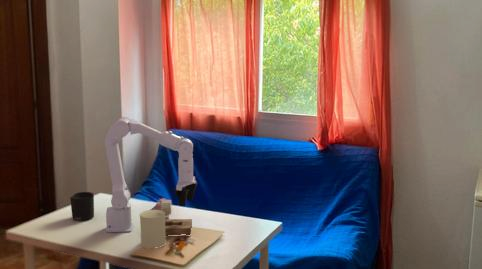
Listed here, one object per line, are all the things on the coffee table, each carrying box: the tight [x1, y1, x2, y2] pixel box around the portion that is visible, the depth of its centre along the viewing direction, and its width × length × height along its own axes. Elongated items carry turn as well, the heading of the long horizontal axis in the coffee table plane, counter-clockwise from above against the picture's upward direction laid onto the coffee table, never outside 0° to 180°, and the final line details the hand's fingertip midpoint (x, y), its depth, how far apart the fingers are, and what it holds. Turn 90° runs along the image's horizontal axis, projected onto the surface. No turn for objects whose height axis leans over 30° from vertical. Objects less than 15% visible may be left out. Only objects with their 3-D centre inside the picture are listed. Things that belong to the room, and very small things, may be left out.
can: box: [139, 209, 167, 249], centre depth 185 cm, size 9×9×12 cm
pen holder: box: [69, 191, 95, 222], centre depth 212 cm, size 9×9×10 cm
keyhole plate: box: [165, 218, 193, 236], centre depth 197 cm, size 14×10×3 cm
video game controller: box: [150, 197, 168, 210], centre depth 220 cm, size 10×5×7 cm, turn 168°
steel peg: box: [161, 199, 172, 219], centre depth 205 cm, size 4×4×10 cm
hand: (186, 203), depth 201 cm, fingers open, 7 cm apart
